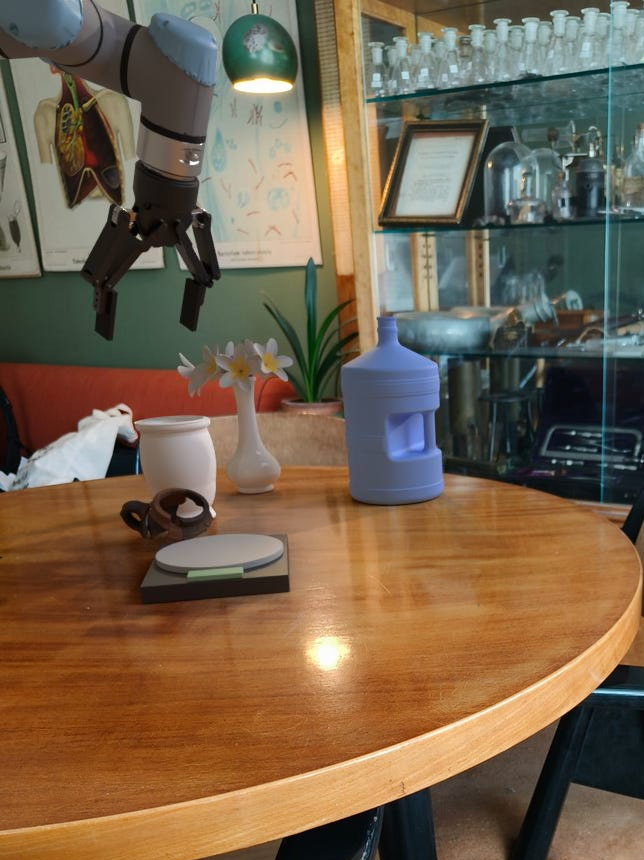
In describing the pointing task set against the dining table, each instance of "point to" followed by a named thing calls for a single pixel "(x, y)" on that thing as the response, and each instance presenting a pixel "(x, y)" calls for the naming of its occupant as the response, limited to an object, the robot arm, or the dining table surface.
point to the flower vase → (242, 406)
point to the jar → (179, 458)
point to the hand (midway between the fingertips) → (147, 331)
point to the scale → (218, 568)
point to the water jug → (391, 423)
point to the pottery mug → (167, 515)
